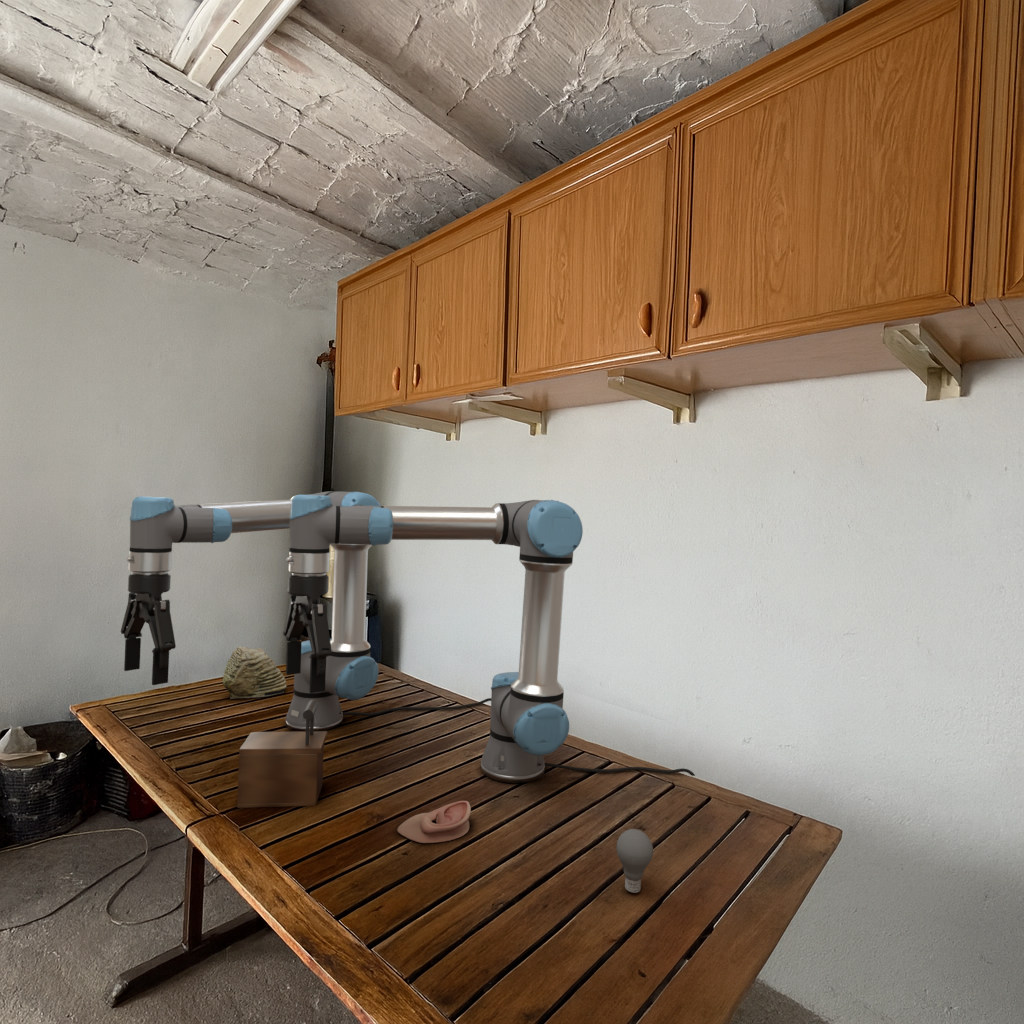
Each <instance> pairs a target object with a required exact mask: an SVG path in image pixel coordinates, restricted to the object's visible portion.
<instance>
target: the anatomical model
mask: <svg viewBox="0 0 1024 1024" xmlns="http://www.w3.org/2000/svg"><path fill="white" fill-rule="evenodd" d="M471 813H472V808H471V804H470V802H469V801H468V800H459V801H454V802H451V803H449V804H446V805H442V806H441V807H439V808H436V809H434V810H432V811H429V812H421V813H417V814H415V815H413V816H411V817H409V818H407V819H406V820H405V821H403V822H402V823H401V824H400V825H399V826H398V827H397V829H396V830H397V833H398V834H400V835H401V836H403V837H404V838H406V839H408V840H410V841H414V842H416V843H419V844H434V843H443V842H448V841H452V840H456V839H459V838H461V837H463V836H465V835H466V834H467V833H469V830H470V821H469V819H470V817H471Z"/></svg>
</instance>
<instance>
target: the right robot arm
mask: <svg viewBox="0 0 1024 1024" xmlns="http://www.w3.org/2000/svg"><path fill="white" fill-rule="evenodd" d="M293 496H294V497H293ZM293 496H292V497H293V498H292V497H291V498H292V502H291V514H290V528H289V541H288V542H289V544H288V545H289V547H288V553H289V554H288V556H287V557H286V562H287V563H288V572H289V573H291V574H289V576H287V593H288V595H289V605H288V609H287V614H286V618H285V623H284V626H283V632H282V635H283V637H285V641H286V660H285V661H286V662H285V675H286V676H291V675H294V674H299V673H300V672H301V645H302V642H303V640H304V637H303V631H304V630H305V628H306V631H307V635H308V640H310V645H311V649H312V654H311V655H310V657H309V658H310V659H311V661H310V689H309V692H310V693H315V692H322V691H325V678H326V657H327V656H331V655H332V650H331V642H330V639H331V636H330V629H329V624H328V623H329V622H328V604H327V603H326V602H322V603H321V602H320V597H321V596H324V595H327V594H328V592H329V580H330V579H329V576H328V572H329V571H330V559H331V557H330V555H331V552H330V547H331V545H330V544H364V545H372V546H374V547H375V546H379V545H380V546H381V545H389V544H390V543H391V542H392V541H393V540H395V541H406V540H407V541H412V540H413V541H492V543H493V544H495V545H505V546H506V545H507V546H514V547H517V548H518V547H519V557H518V558H519V559H518V561H519V562H520V564H522V566H523V567H524V570H525V571H524V572H525V573H524V587H523V602H522V616H521V631H520V648H519V662H518V671H509V672H500V673H497V674H494V676H493V678H492V683H491V687H490V690H491V695H490V696H491V697H490V698H491V701H490V721H489V723H490V724H489V736H488V741H487V743H486V745H485V749H484V751H483V754H482V755H481V756H482V757H481V760H480V771H481V772H482V774H483V775H485V776H486V777H487V778H489V779H491V780H494V781H497V782H500V783H506V784H524V783H530V782H533V781H536V780H538V779H540V778H542V777H543V776H544V774H545V768H546V767H549V768H556V769H563V770H569V771H575V772H585V773H620V772H625V771H644V772H645V771H646V772H653V773H661V774H677V773H688V774H689V775H690V776H692V777H694V776H696V775H695V773H694V772H693V771H692V770H690V769H688V768H682V767H681V768H676V769H663V768H662V769H661V768H654V767H645V766H626V767H618V768H585V767H576V766H569V765H565V764H564V765H563V764H559V763H558V764H557V763H551V762H545V758H544V756H547V755H551V754H552V753H554V752H556V751H557V750H558V749H559V748H560V747H561V746H563V745H564V743H565V741H566V740H567V738H568V736H569V733H570V720H569V717H568V714H567V713H566V710H564V694H565V688H564V686H562V684H561V683H560V682H559V680H558V678H559V663H560V647H561V634H562V619H563V618H562V617H563V605H564V604H563V603H564V589H565V575H566V571H567V570H568V569H570V567H571V566H572V565H573V560H574V552H575V550H576V549H577V548H578V547H579V545H580V544H581V541H582V538H583V532H584V531H583V523H582V519H581V517H580V515H579V514H578V513H577V511H576V510H575V509H574V508H573V507H571V506H570V505H569V504H567V503H565V502H562V501H559V500H554V499H530V500H524V501H517V502H504V503H503V502H502V503H500V502H497V503H494V504H493V505H492V506H491V507H490V506H489V507H483V506H482V507H479V506H478V507H477V506H423V505H422V506H420V505H419V506H417V505H416V506H414V505H381V506H364V505H353V506H350V507H343V506H335V505H332V502H331V497H330V496H321V495H309V494H296V495H293Z"/></svg>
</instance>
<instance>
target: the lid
mask: <svg viewBox="0 0 1024 1024" xmlns="http://www.w3.org/2000/svg"><path fill="white" fill-rule="evenodd" d="M317 707H318V702H317V701H316V700H311V701H309V703H308V705H307V707H306V709H305V711H304V712H303V717H304V719H306V732H301V731H251V732H250V733H249V735H248V736H247V738H246V739H245V740H244V741H243V743H242V745H241V746H240V747H239V749H238V756H239V755H269V754H321V751H322V749H323V746H324V747H325V744H326V740H327V738H328V730H325V731H314V713H315V711H316V709H317Z"/></svg>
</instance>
